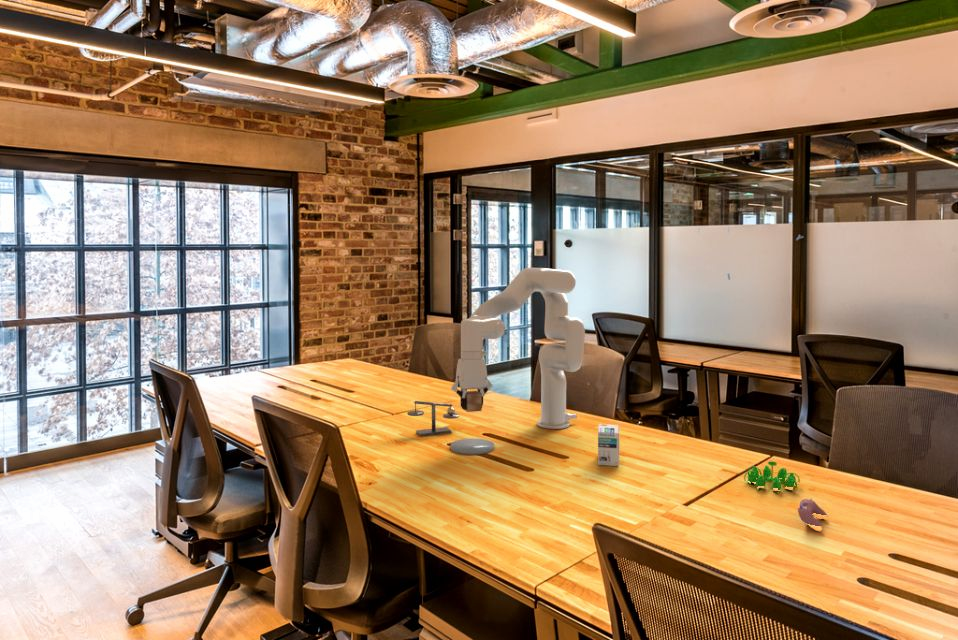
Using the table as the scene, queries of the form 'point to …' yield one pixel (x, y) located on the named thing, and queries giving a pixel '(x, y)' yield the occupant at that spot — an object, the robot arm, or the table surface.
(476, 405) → the walnut block
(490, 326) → the robot arm
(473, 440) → the dish
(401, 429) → the table surface
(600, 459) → the light bulb box
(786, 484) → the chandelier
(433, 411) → the balance
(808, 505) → the purple rounded piece
